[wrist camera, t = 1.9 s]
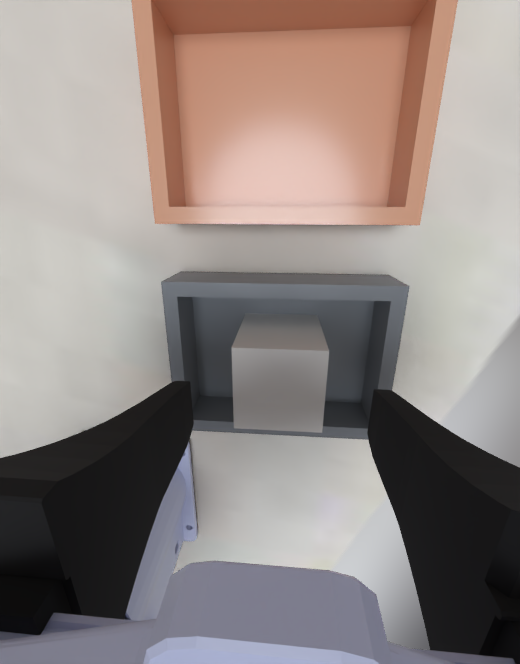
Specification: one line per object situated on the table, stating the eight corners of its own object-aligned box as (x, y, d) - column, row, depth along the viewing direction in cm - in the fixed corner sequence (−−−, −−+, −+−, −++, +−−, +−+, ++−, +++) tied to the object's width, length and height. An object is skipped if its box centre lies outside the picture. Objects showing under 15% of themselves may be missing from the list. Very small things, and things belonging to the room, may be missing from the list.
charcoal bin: (369, 408, 20) (383, 440, 17) (191, 400, 20) (176, 429, 18) (388, 274, 17) (409, 286, 14) (180, 271, 18) (161, 281, 15)
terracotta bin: (396, 223, 16) (419, 224, 13) (176, 222, 17) (154, 223, 14) (426, 10, 13) (465, -46, 10) (160, 21, 14) (128, -29, 11)
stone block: (312, 379, 19) (322, 432, 14) (246, 376, 19) (234, 428, 14) (317, 315, 17) (329, 350, 13) (245, 313, 18) (231, 347, 13)
